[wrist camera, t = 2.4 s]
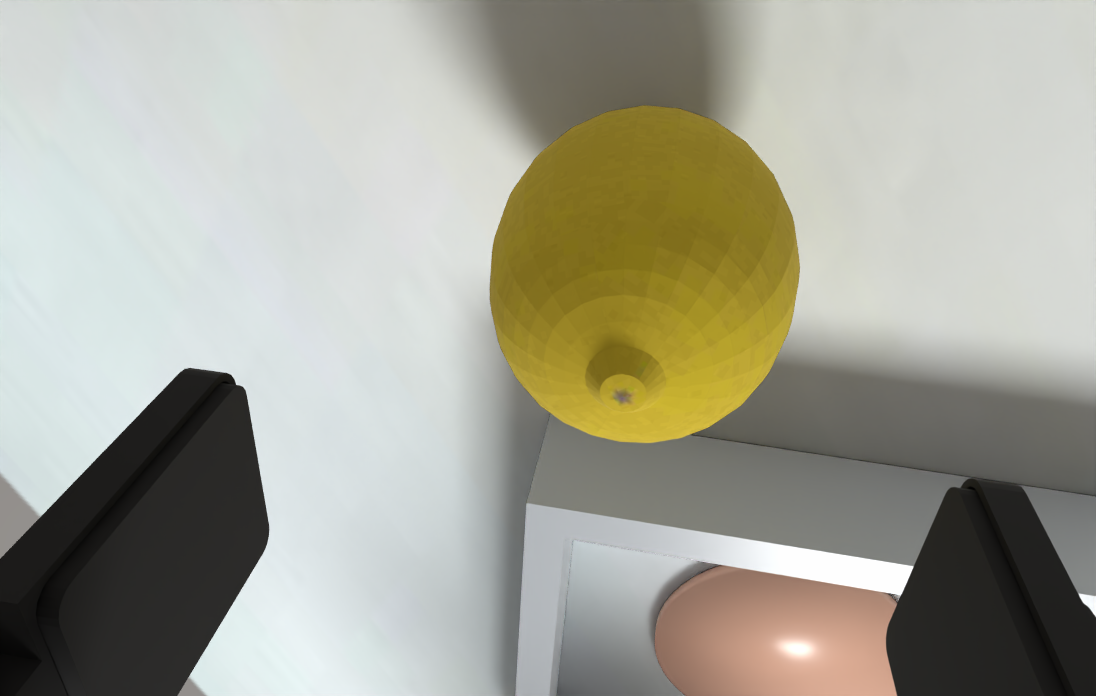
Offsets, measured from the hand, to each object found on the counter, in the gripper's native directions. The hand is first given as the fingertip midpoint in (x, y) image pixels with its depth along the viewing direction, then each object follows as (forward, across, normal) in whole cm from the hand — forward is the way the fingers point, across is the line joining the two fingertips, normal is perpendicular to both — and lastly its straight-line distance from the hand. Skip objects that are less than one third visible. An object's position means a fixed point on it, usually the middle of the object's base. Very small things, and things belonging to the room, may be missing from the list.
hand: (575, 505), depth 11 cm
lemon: (+10, -1, -1) cm, 10 cm away
